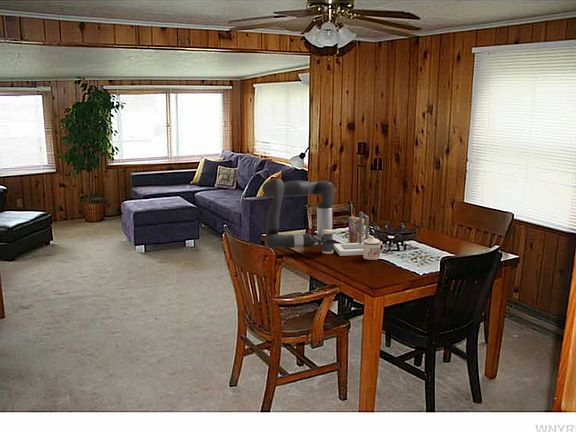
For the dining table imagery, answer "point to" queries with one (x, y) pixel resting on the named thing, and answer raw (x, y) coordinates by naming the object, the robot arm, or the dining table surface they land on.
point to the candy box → (355, 230)
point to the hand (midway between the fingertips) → (331, 239)
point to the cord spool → (328, 236)
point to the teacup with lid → (372, 248)
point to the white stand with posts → (353, 247)
